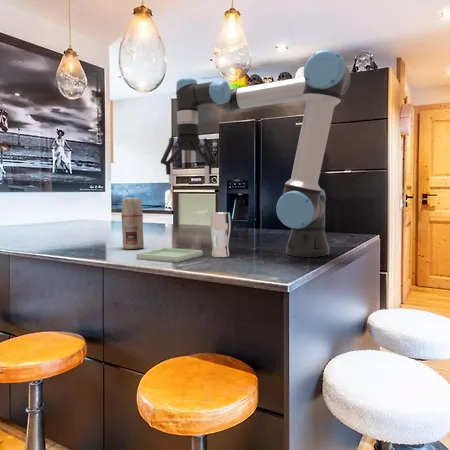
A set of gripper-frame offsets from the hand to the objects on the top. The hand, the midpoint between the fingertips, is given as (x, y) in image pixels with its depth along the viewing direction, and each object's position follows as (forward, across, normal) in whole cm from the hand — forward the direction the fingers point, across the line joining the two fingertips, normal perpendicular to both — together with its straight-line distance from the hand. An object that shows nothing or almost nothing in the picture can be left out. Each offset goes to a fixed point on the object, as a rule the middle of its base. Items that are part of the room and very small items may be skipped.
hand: (189, 184), depth 147 cm
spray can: (+25, +18, -19) cm, 36 cm away
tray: (+25, +10, +7) cm, 28 cm away
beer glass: (+25, -7, +12) cm, 29 cm away
